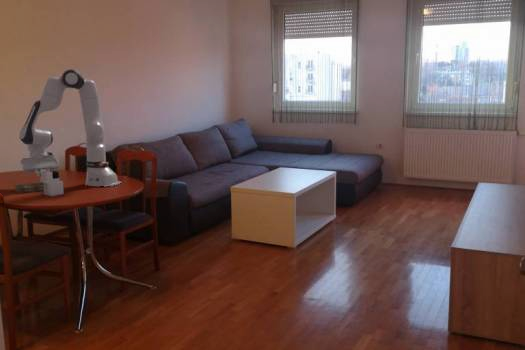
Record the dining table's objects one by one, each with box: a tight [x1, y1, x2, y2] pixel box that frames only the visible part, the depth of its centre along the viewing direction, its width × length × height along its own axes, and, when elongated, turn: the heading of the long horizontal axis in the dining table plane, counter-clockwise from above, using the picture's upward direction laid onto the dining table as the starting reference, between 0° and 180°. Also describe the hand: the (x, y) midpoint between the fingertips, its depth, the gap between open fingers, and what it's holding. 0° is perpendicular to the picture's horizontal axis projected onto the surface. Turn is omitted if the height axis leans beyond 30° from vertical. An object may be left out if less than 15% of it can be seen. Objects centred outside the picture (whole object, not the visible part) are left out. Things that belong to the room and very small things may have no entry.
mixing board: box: [14, 182, 44, 194], centre depth 311 cm, size 20×11×3 cm, turn 126°
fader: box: [38, 169, 47, 184], centre depth 313 cm, size 4×5×8 cm
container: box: [43, 170, 64, 197], centre depth 298 cm, size 8×8×13 cm
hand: (43, 175), depth 312 cm, fingers closed on fader, 3 cm apart
